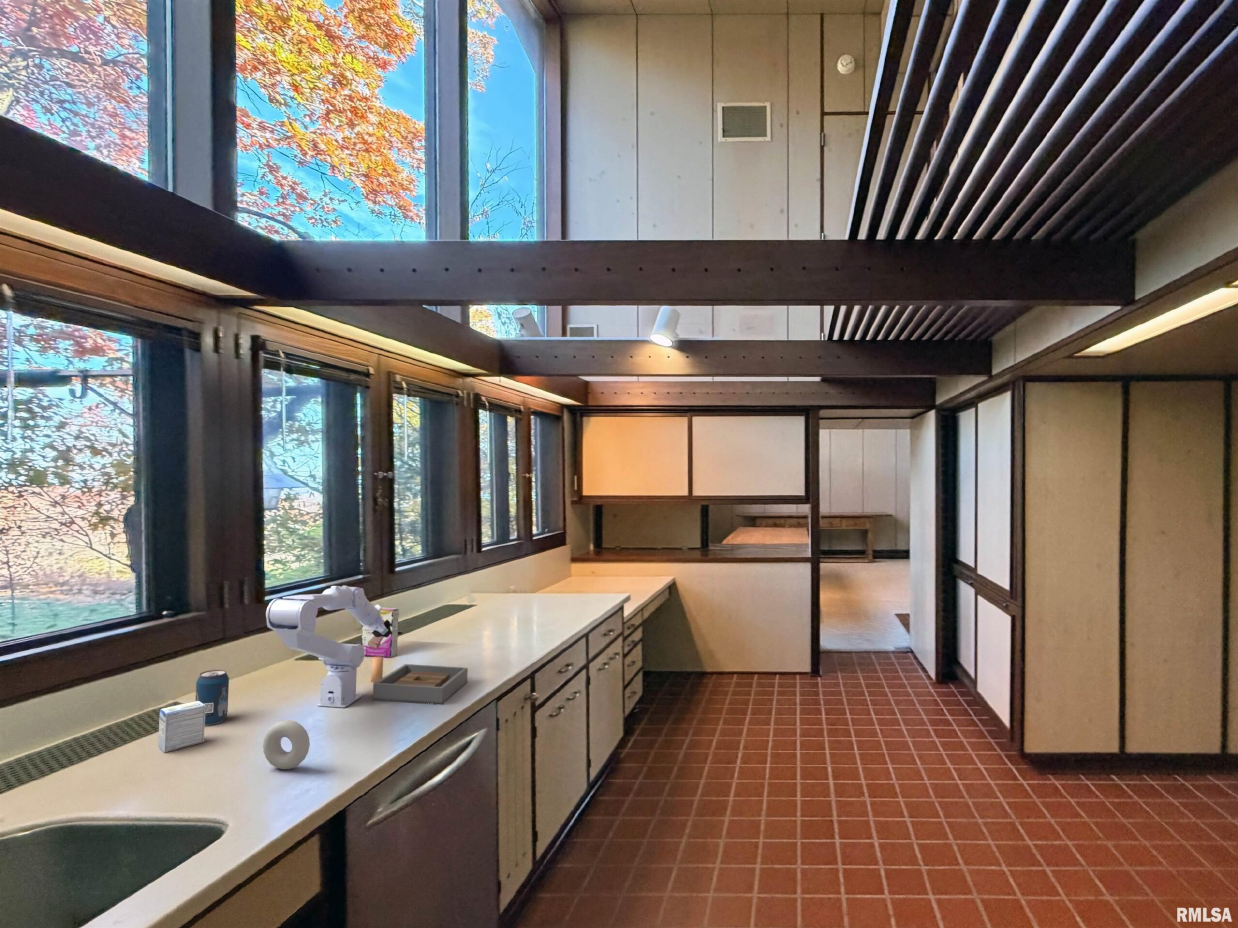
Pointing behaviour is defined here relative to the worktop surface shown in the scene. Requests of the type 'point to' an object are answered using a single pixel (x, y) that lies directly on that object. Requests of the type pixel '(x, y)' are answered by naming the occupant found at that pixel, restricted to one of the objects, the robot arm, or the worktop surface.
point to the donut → (275, 750)
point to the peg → (377, 669)
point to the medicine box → (181, 726)
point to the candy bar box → (382, 644)
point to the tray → (416, 693)
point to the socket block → (424, 679)
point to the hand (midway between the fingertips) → (381, 626)
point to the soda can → (213, 695)
